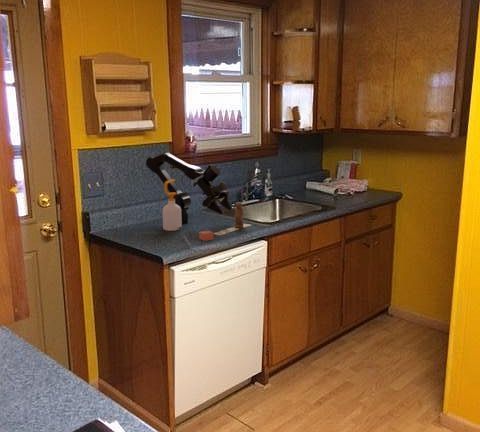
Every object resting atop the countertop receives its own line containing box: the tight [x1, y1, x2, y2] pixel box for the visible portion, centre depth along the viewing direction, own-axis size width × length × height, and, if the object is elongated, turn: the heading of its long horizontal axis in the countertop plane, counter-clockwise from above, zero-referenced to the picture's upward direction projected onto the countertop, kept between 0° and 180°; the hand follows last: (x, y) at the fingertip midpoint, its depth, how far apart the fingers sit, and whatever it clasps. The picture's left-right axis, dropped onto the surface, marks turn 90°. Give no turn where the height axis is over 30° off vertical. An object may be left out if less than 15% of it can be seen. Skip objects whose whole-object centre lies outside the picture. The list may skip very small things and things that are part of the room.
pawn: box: [233, 201, 244, 229], centre depth 253 cm, size 4×4×12 cm
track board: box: [213, 223, 251, 236], centre depth 251 cm, size 26×11×1 cm, turn 143°
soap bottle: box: [162, 178, 183, 232], centre depth 254 cm, size 9×9×25 cm
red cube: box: [198, 230, 214, 242], centre depth 233 cm, size 4×4×4 cm
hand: (226, 211), depth 256 cm, fingers open, 9 cm apart
